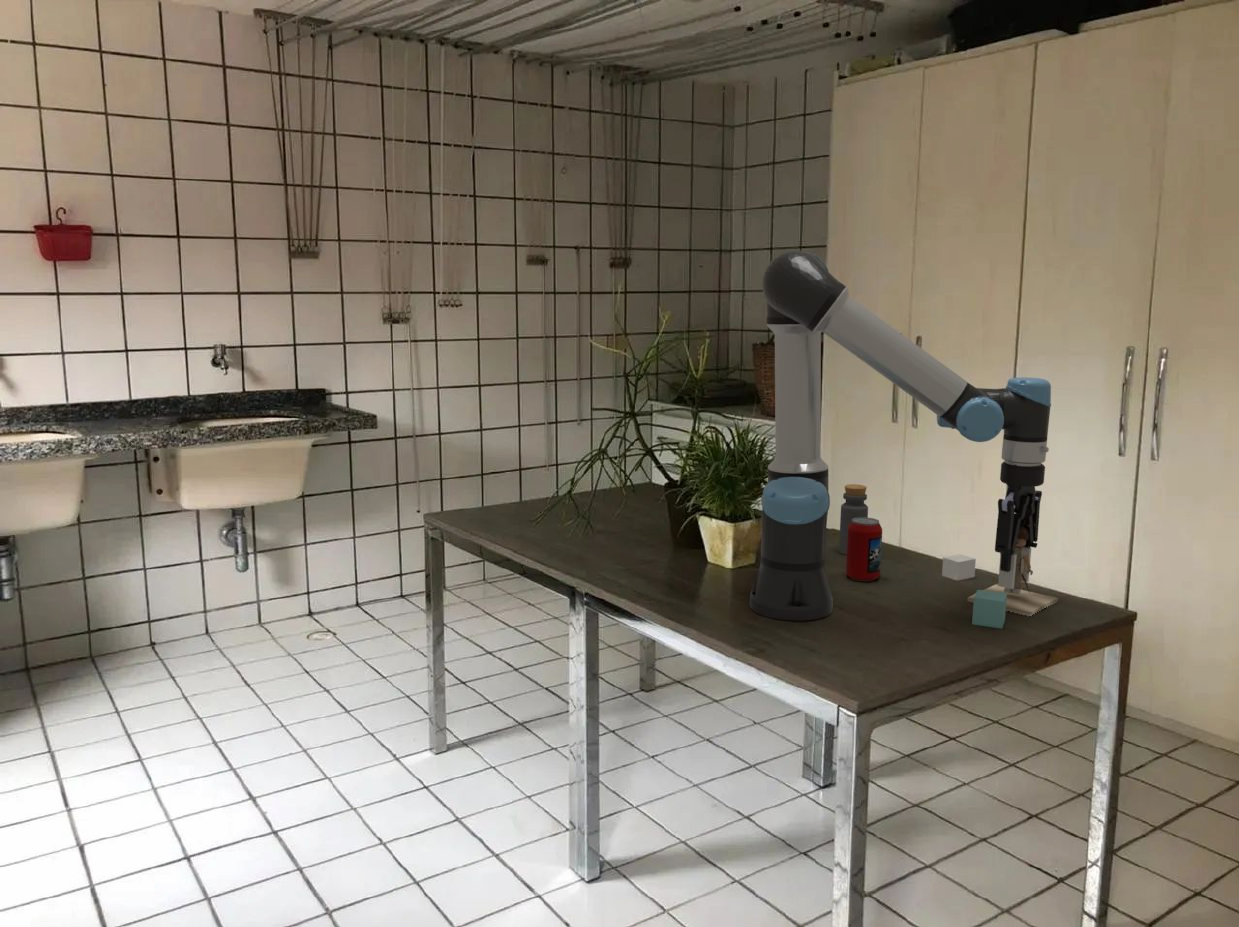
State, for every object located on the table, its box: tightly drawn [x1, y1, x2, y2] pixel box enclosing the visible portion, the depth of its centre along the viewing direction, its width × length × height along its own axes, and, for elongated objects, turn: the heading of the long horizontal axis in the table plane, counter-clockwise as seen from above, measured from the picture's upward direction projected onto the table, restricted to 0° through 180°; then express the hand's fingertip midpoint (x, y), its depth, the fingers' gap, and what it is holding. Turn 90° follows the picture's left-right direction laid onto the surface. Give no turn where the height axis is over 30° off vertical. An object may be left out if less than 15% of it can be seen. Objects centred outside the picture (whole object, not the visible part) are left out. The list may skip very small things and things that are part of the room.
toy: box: [999, 522, 1036, 594], centre depth 187 cm, size 6×6×15 cm
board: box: [966, 583, 1059, 617], centre depth 188 cm, size 12×12×1 cm
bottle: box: [838, 483, 869, 556], centre depth 221 cm, size 6×6×15 cm
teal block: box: [971, 589, 1007, 630], centre depth 177 cm, size 5×5×5 cm
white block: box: [941, 553, 977, 582], centre depth 204 cm, size 5×4×4 cm
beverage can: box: [845, 517, 883, 582], centre depth 202 cm, size 7×7×12 cm
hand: (1013, 583), depth 188 cm, fingers closed on toy, 6 cm apart
